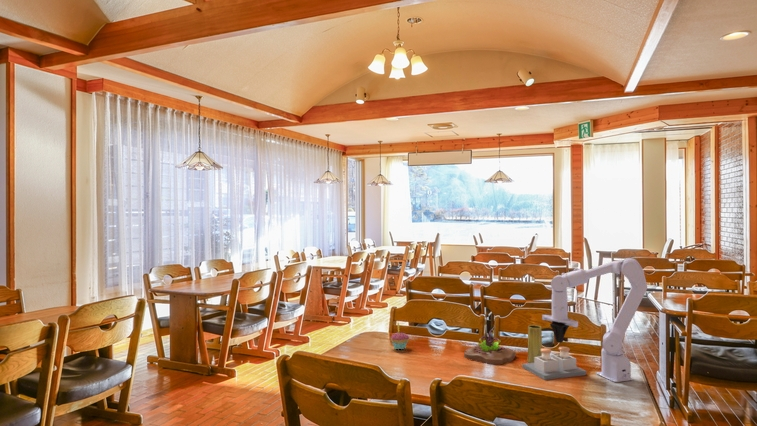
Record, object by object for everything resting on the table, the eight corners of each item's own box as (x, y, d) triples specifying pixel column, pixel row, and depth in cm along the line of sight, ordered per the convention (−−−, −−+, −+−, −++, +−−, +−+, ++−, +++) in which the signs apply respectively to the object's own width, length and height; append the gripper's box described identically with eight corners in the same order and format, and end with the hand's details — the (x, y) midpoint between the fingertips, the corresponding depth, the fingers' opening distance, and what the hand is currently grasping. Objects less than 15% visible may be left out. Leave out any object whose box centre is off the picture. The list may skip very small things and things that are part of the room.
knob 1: (553, 363, 171) (553, 350, 171) (544, 364, 170) (544, 351, 170) (547, 360, 175) (547, 347, 175) (538, 361, 174) (538, 348, 174)
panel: (586, 375, 170) (586, 360, 170) (544, 379, 166) (544, 364, 166) (562, 363, 184) (561, 349, 184) (522, 367, 179) (522, 353, 179)
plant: (523, 356, 194) (522, 330, 195) (500, 368, 180) (500, 339, 180) (481, 347, 208) (481, 322, 208) (457, 357, 194) (457, 331, 194)
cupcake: (387, 347, 208) (387, 321, 208) (403, 345, 212) (403, 319, 212) (396, 352, 200) (395, 325, 200) (413, 350, 204) (412, 323, 204)
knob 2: (571, 361, 174) (571, 348, 174) (563, 362, 173) (563, 349, 173) (565, 358, 177) (565, 346, 177) (556, 359, 176) (556, 347, 176)
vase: (525, 362, 185) (525, 327, 185) (528, 358, 190) (528, 324, 191) (541, 364, 182) (541, 329, 182) (544, 360, 188) (543, 325, 188)
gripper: (582, 308, 173) (583, 344, 173) (550, 302, 185) (550, 336, 185) (571, 311, 169) (571, 347, 169) (538, 304, 181) (538, 338, 181)
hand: (559, 342), depth 177 cm, fingers closed
